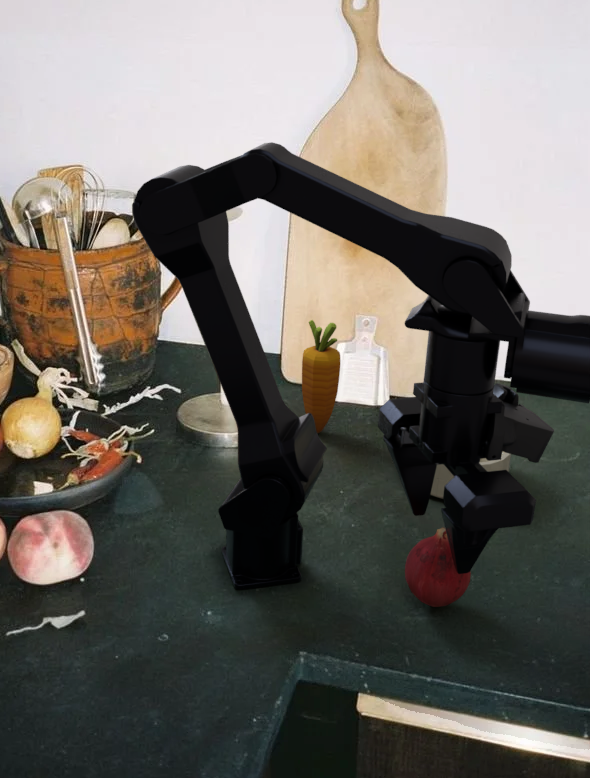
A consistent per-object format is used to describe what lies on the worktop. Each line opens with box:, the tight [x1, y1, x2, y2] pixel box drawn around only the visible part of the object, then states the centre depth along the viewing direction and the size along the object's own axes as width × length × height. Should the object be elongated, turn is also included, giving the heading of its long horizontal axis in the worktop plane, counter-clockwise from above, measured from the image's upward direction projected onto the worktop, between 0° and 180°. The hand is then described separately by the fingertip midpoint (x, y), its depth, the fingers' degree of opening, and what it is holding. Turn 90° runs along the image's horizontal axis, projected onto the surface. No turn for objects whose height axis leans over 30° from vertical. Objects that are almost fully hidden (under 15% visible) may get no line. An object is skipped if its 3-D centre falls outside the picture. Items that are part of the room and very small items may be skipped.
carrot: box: [301, 319, 341, 434], centre depth 114 cm, size 5×5×15 cm
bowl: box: [430, 451, 513, 500], centre depth 106 cm, size 12×12×5 cm
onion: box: [404, 527, 472, 608], centre depth 84 cm, size 6×6×8 cm
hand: (439, 542), depth 83 cm, fingers open, 9 cm apart
